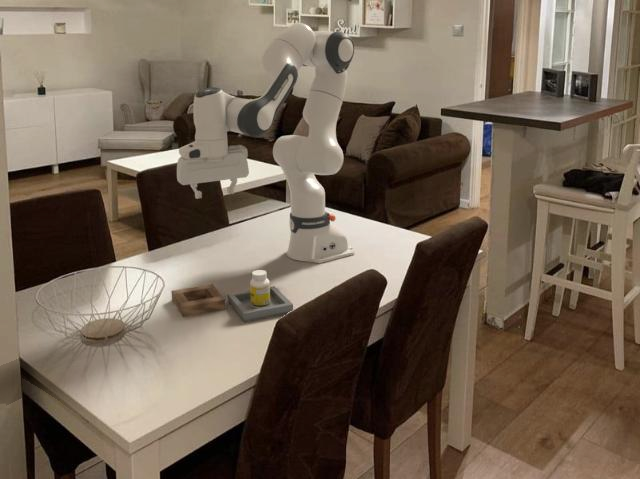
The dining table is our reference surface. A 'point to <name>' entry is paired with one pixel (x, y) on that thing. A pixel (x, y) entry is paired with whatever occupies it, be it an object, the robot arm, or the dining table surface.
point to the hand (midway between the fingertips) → (214, 195)
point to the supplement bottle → (260, 289)
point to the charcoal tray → (248, 313)
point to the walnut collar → (198, 306)
